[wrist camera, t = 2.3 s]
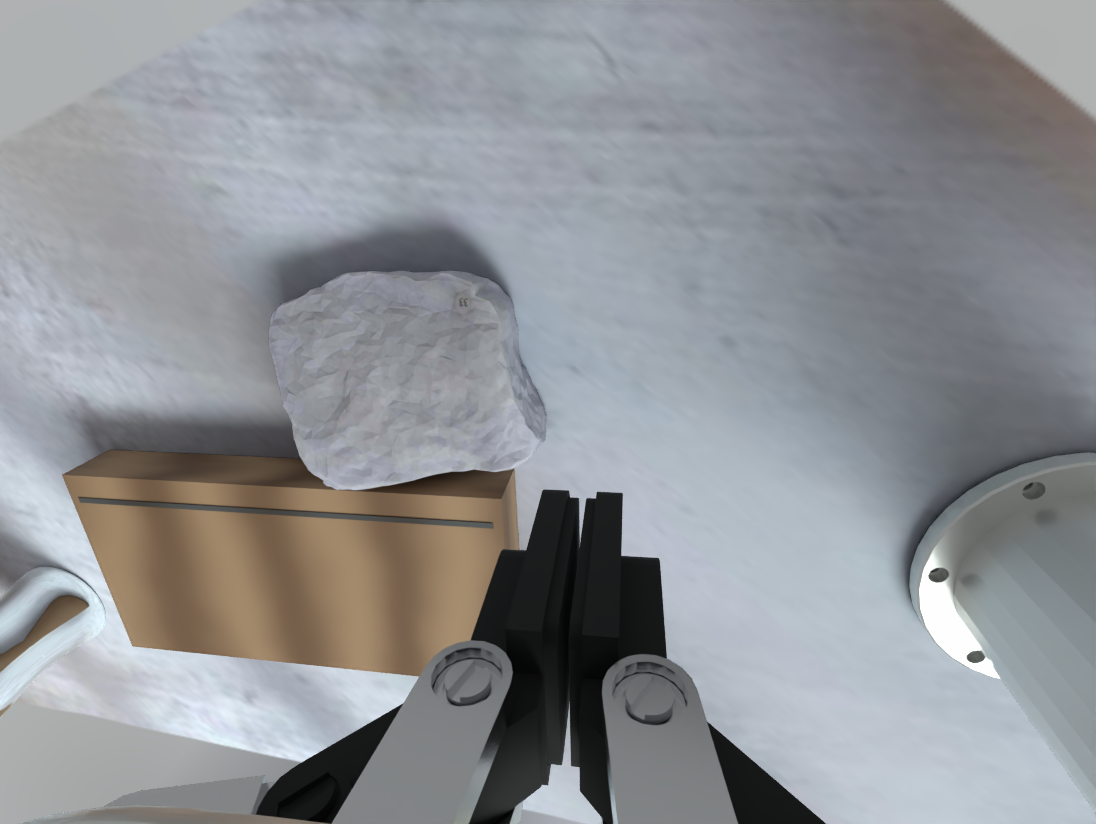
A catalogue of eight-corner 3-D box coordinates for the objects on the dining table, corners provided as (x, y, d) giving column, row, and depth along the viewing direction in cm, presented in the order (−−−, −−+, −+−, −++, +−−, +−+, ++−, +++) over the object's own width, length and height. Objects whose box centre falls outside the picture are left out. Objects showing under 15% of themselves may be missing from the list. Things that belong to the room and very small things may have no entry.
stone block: (299, 294, 30) (347, 476, 31) (236, 293, 25) (295, 507, 27) (518, 246, 27) (557, 444, 29) (493, 235, 23) (541, 472, 24)
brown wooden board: (514, 468, 29) (501, 499, 27) (524, 645, 34) (514, 687, 31) (109, 449, 33) (60, 475, 30) (169, 611, 38) (131, 647, 35)
